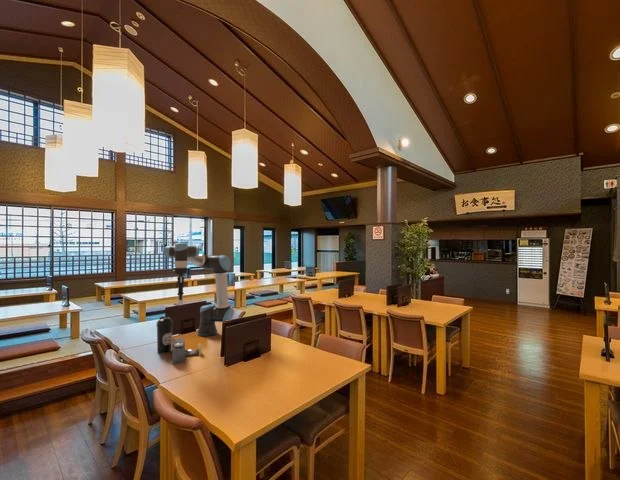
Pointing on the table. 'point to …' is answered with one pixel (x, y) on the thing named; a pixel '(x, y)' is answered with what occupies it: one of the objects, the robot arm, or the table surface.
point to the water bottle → (164, 335)
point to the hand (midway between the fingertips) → (180, 304)
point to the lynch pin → (194, 351)
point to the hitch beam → (178, 351)
